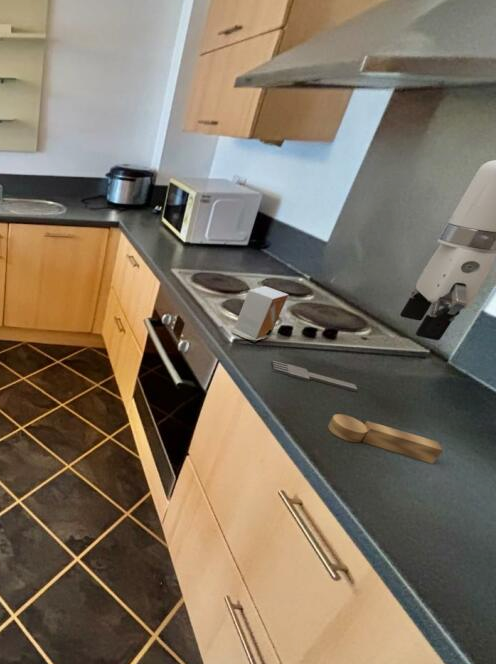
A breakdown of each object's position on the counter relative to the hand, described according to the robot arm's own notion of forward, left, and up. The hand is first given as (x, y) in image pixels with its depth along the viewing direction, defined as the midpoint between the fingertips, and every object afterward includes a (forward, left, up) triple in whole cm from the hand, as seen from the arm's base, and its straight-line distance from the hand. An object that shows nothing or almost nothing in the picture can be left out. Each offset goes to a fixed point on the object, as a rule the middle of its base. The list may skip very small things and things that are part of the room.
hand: (418, 327), depth 78 cm
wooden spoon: (+2, +13, -19) cm, 23 cm away
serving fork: (+9, -7, -19) cm, 22 cm away
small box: (+21, -23, -19) cm, 37 cm away
